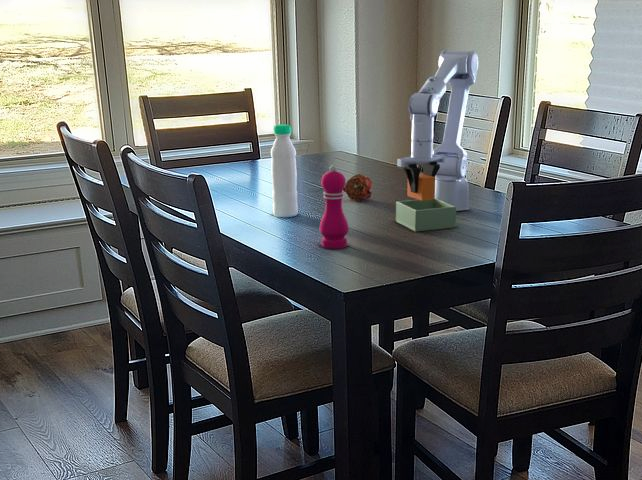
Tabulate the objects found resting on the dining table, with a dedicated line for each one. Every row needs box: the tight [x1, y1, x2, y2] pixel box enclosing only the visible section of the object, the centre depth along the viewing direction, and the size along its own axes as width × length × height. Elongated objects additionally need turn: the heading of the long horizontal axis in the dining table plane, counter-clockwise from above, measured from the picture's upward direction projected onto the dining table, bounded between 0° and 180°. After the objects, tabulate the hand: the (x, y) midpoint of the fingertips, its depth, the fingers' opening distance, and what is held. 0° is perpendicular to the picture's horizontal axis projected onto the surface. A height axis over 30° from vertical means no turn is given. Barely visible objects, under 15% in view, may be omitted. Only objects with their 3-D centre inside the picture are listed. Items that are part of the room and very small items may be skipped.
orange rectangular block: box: [406, 172, 435, 201], centre depth 231 cm, size 4×7×6 cm, turn 32°
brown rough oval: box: [342, 173, 373, 202], centre depth 261 cm, size 8×8×12 cm
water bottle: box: [270, 123, 299, 218], centre depth 238 cm, size 7×7×25 cm
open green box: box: [395, 197, 457, 232], centre depth 232 cm, size 12×12×6 cm
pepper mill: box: [319, 164, 350, 250], centre depth 209 cm, size 7×7×20 cm
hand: (420, 191), depth 231 cm, fingers closed on orange rectangular block, 4 cm apart
